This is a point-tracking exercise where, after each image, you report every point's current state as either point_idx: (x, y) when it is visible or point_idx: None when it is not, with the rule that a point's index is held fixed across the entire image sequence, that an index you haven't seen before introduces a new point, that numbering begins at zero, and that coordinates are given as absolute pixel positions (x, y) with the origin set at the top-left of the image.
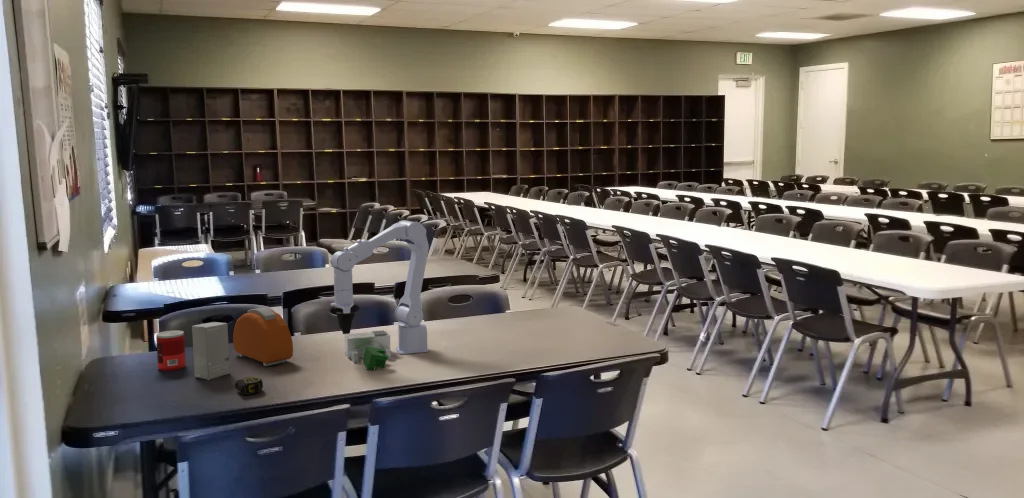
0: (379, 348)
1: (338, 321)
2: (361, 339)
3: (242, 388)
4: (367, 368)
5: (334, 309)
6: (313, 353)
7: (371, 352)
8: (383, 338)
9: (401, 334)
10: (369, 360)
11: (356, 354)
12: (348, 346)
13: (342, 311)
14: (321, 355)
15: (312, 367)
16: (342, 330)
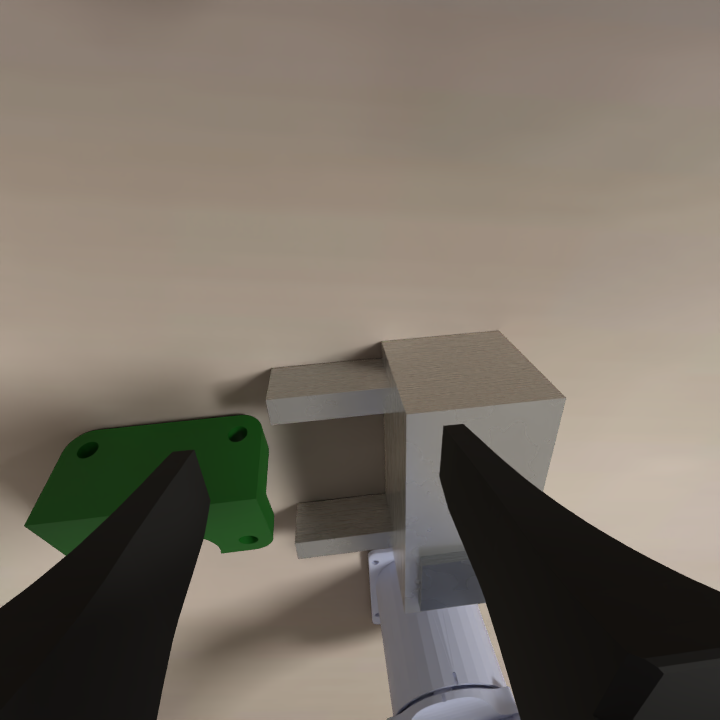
0: (269, 538)
1: (479, 475)
2: (403, 486)
3: None
4: (89, 436)
5: (616, 645)
6: (606, 113)
7: (85, 523)
8: (402, 575)
9: (414, 645)
10: (66, 479)
11: (269, 412)
12: (395, 385)
13: (542, 667)
14: (521, 175)
15: (194, 76)
16: (146, 480)
